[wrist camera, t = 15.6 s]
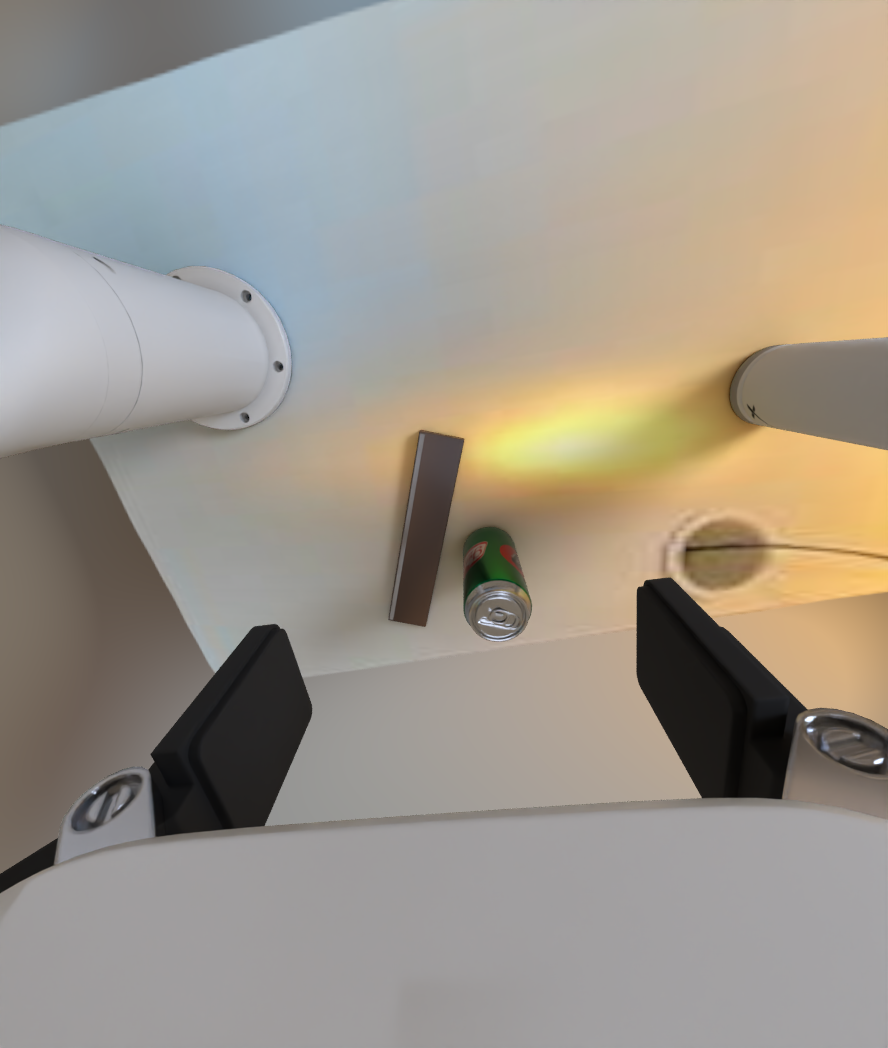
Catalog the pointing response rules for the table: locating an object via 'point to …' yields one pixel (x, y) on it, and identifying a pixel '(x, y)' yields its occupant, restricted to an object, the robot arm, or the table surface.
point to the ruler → (425, 525)
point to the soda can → (494, 586)
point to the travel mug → (818, 390)
